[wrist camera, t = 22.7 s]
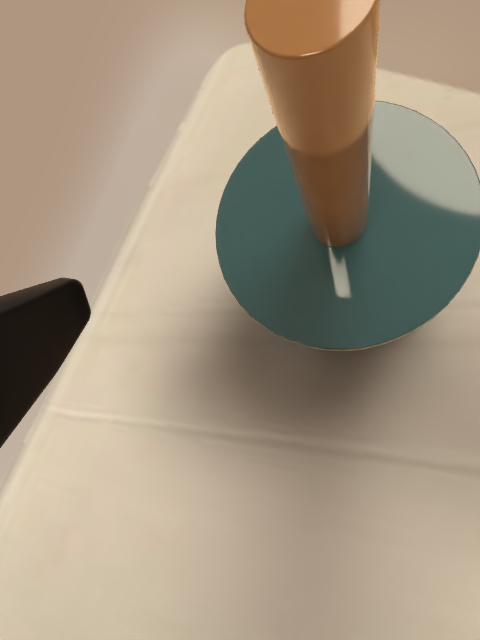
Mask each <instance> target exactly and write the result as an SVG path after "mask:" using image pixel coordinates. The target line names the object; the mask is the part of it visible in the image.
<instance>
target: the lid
mask: <svg viewBox="0 0 480 640" xmlns="http://www.w3.org/2000/svg"><path fill="white" fill-rule="evenodd" d="M379 11H380V0H246V4H245V12H244V19H245V26H246V30H247V34H248V37H249V40H250V43H251V46H252V49H253V52H254V55H255V59H256V62H257V65H258V68H259V71H260V74H261V77H262V80H263V84H264V87H265V90H266V93H267V96H268V99H269V102H270V105H271V109H272V112H273V115H274V118H275V121H276V124H277V126H276V127H274V128H273V129H271V130H270V131H269V132H268V133H267V134H265V135H264V136H263V137H262V138H260V139H259V140H258V141H257V142H256V143H255V144H254V145H253V146H252V147H251V148H250V149H249V150H248V152H247V153H246V154H245V156H244V157H243V158H242V159H241V161H240V162H239V163H238V165H237V167H236V168H235V170H234V171H233V173H232V175H231V177H230V179H229V181H228V183H227V185H226V187H225V189H224V192H223V195H222V198H221V201H220V205H219V210H218V215H217V221H216V249H217V254H218V259H219V264H220V267H221V270H222V273H223V276H224V279H225V281H226V283H227V285H228V287H229V289H230V291H231V292H232V294H233V295H234V297H235V298H236V300H237V301H238V303H239V304H240V305H241V306H242V307H243V308H244V310H245V311H246V312H247V313H248V314H249V315H250V316H251V317H252V318H254V319H255V320H256V321H257V322H258V323H259V324H261V325H262V326H263V327H265V328H267V329H268V330H270V331H271V332H273V333H274V334H276V335H278V336H280V337H282V338H284V339H286V340H289V341H291V342H293V343H296V344H299V345H303V346H306V347H309V348H315V349H321V350H328V351H351V350H362V349H367V348H372V347H376V346H381V345H383V344H386V343H389V342H392V341H395V340H397V339H400V338H402V337H404V336H405V335H407V334H409V333H411V332H413V331H415V330H417V329H418V328H420V327H421V326H423V325H424V324H425V323H427V322H428V321H430V320H431V319H432V318H433V317H435V316H436V315H437V314H438V313H439V312H440V311H441V310H442V309H444V308H445V307H446V306H447V305H448V304H449V303H450V301H451V300H452V299H453V298H454V297H455V295H456V294H457V293H458V292H459V291H460V289H461V288H462V286H463V285H464V283H465V282H466V280H467V278H468V277H469V275H470V273H471V271H472V269H473V267H474V265H475V262H476V260H477V258H478V255H479V251H480V181H479V178H478V175H477V172H476V169H475V168H474V166H473V164H472V162H471V160H470V158H469V157H468V155H467V153H466V152H465V151H464V149H463V148H462V147H461V145H460V144H459V143H458V142H457V140H456V139H455V138H454V137H453V136H451V135H450V134H449V133H448V132H447V131H446V130H445V129H444V128H443V127H441V126H440V125H439V124H437V123H436V122H434V121H433V120H432V119H430V118H428V117H426V116H424V115H422V114H420V113H419V112H417V111H414V110H411V109H409V108H406V107H403V106H401V105H396V104H392V103H388V102H383V101H375V84H376V66H377V48H378V47H377V46H378V29H379Z"/></svg>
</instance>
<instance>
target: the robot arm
mask: <svg viewBox="0 0 480 640" xmlns="http://www.w3.org/2000/svg"><path fill="white" fill-rule="evenodd" d="M90 315H91V309H90V306H89V303H88V300H87V297H86V294H85V291H84V288H83V286H82V284H81V283H80V282H79V281H78V280H75V279H70V278H58V279H55V280H52V281H49V282H45V283H42V284H39V285H36V286H32V287H29V288H26V289H23V290H19V291H16V292H13V293H9V294H6V295H3V296H0V448H1V447H2V445H3V444H4V443H5V441H6V440H7V439H8V437H9V436H10V435H11V433H12V432H13V431H14V429H15V428H16V427H17V425H18V424H19V423H20V421H21V420H22V418H23V417H24V416H25V414H26V413H27V412H28V410H29V409H30V408H31V406H32V405H33V404H34V402H35V401H36V400H37V398H38V397H39V396H40V394H41V393H42V392H43V390H44V389H45V388H46V386H47V385H48V384H49V382H50V381H51V380H52V378H53V377H54V376H55V374H56V373H57V371H58V370H59V368H60V367H61V365H62V364H63V362H64V360H65V359H66V357H67V355H68V354H69V352H70V350H71V349H72V347H73V346H74V344H75V342H76V341H77V339H78V337H79V336H80V334H81V332H82V331H83V329H84V327H85V326H86V324H87V322H88V321H89V319H90Z"/></svg>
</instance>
